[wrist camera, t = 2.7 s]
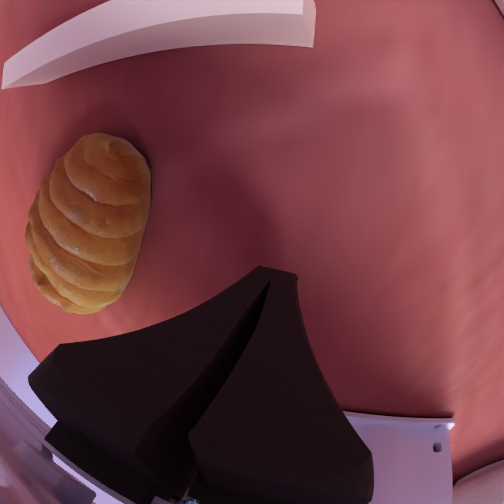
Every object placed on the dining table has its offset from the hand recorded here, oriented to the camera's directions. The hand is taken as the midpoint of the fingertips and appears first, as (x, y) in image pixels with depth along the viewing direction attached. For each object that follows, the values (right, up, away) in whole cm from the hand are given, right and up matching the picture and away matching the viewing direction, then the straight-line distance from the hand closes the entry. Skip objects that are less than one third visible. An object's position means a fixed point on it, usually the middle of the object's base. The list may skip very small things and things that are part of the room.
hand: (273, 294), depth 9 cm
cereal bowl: (+29, -27, +6) cm, 40 cm away
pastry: (-9, +3, +4) cm, 10 cm away
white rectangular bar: (-5, +10, -2) cm, 11 cm away
